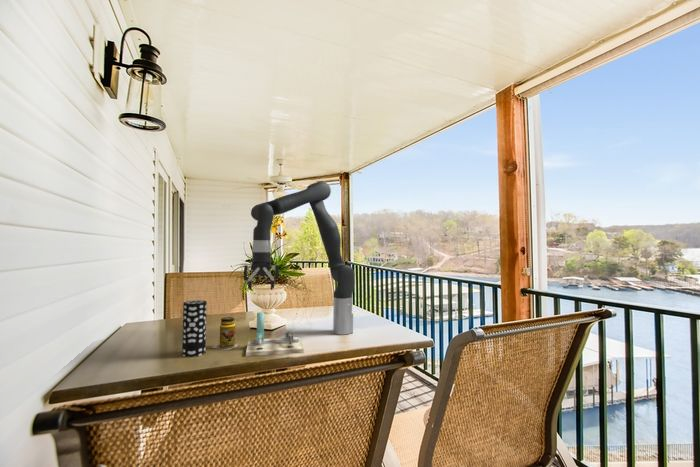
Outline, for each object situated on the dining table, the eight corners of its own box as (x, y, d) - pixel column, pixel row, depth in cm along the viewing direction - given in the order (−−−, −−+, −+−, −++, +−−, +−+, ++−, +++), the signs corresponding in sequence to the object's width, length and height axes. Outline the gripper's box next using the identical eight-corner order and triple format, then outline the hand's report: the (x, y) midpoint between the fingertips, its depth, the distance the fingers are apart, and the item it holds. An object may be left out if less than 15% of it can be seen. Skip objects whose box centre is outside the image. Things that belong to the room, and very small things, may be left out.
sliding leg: (263, 339, 143) (264, 311, 144) (263, 346, 134) (264, 316, 134) (256, 340, 142) (257, 312, 143) (256, 346, 133) (256, 316, 134)
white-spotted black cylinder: (190, 358, 127) (191, 304, 127) (177, 354, 131) (178, 302, 132) (209, 352, 134) (211, 301, 134) (197, 349, 138) (198, 299, 139)
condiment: (228, 350, 137) (229, 320, 137) (211, 348, 140) (211, 318, 140) (239, 345, 144) (240, 316, 144) (222, 343, 146) (223, 315, 147)
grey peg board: (300, 342, 148) (300, 328, 148) (303, 352, 135) (303, 337, 135) (247, 345, 143) (248, 331, 143) (245, 356, 129) (246, 340, 130)
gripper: (278, 251, 148) (278, 288, 147) (244, 251, 144) (243, 289, 144) (279, 251, 140) (278, 290, 140) (243, 251, 137) (242, 291, 136)
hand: (261, 289), depth 142 cm, fingers open, 8 cm apart
